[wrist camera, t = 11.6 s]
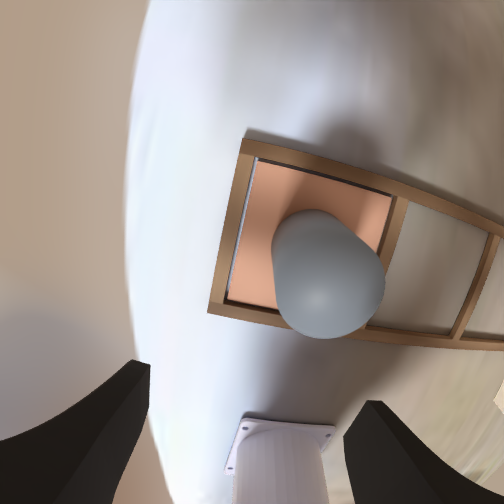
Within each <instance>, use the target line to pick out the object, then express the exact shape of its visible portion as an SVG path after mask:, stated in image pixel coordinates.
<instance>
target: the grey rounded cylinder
mask: <svg viewBox="0 0 504 504" xmlns="http://www.w3.org/2000/svg"><path fill="white" fill-rule="evenodd" d="M271 256H272V265H273V275H274V285H275V295H276V302H277V307H278V309H279V312H280V314H281V315H282V317H283V319H284V320H285V321H286V323H287V324H288V325H289V326H290V327H291V328H293V329H294V330H296V331H297V332H299V333H301V334H303V335H306V336H308V337H312V338H319V339H330V338H337V337H341V336H344V335H347V334H349V333H351V332H353V331H355V330H357V329H358V328H360V327H361V326H362V325H364V324H365V323H366V322H367V321H368V320H369V319H370V318H371V317H372V316H373V314H374V313H375V312H376V310H377V308H378V307H379V305H380V303H381V300H382V298H383V295H384V290H385V273H384V268H383V265H382V263H381V261H380V259H379V257H378V255H377V254H376V253H375V251H374V250H373V249H372V248H371V247H370V246H368V245H367V244H366V243H365V242H364V241H363V240H362V239H360V238H359V237H358V236H357V235H356V234H355V233H354V232H352V231H351V230H350V229H349V228H348V227H347V226H345V225H344V224H343V223H342V222H341V221H340V220H338V219H337V218H336V217H335V216H333V215H332V214H330V213H328V212H326V211H323V210H318V209H305V210H301V211H298V212H295V213H293V214H291V215H290V216H288V217H287V218H286V219H284V220H283V221H282V222H281V224H280V225H279V226H278V228H277V229H276V231H275V233H274V235H273V238H272V243H271Z"/></svg>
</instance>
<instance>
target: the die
mask: <svg viewBox="0 0 504 504" xmlns="http://www.w3.org/2000/svg"><path fill="white" fill-rule="evenodd" d="M493 401H494V402H495V403H496V404H497V406H498V407H499V408H500V410H501V411H502V412H503V414H504V380H503V383H502V385H501V387H500V389H499V391H498V392H497V394H496V396H495V398H494V400H493Z"/></svg>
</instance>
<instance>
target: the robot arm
mask: <svg viewBox="0 0 504 504" xmlns="http://www.w3.org/2000/svg"><path fill="white" fill-rule="evenodd" d="M149 389H150V365H149V364H146V363H142V362H139V361H136V360H130V361H129V362H127V363H126V364H125V365H124V366H123V367H122V368H121V369H120V370H118V371H117V372H116V373H115V374H114V375H113V376H112V377H111V378H109V379H108V380H107V381H106V382H104V383H103V384H102V385H100V386H99V387H98V388H97V389H95V390H94V391H93V392H91V393H90V394H89V395H87V396H86V397H85V398H83V399H82V400H80V401H79V402H77V403H76V404H75V405H73V406H71V407H70V408H68V409H67V410H65V411H64V412H62V413H61V414H59V415H57V416H55V417H54V418H52V419H50V420H48V421H47V422H45V423H43V424H41V425H39V426H37V427H35V428H32V429H30V430H28V431H25V432H23V433H21V434H18V435H16V436H14V437H11V438H8V439H5V440H1V441H0V504H112V502H113V498H114V494H115V491H116V489H117V486H118V484H119V481H120V479H121V476H122V474H123V471H124V470H125V467H126V465H127V463H128V461H129V458H130V456H131V454H132V452H133V449H134V447H135V445H136V443H137V440H138V438H139V436H140V433H141V431H142V428H143V425H144V422H145V418H146V415H147V412H148V409H149ZM335 432H336V428H335V427H334V426H328V425H310V424H296V423H285V422H276V421H267V420H259V419H252V418H243V419H242V420H241V421H240V424H239V427H238V430H237V433H236V436H235V439H234V442H233V445H232V448H231V451H230V453H229V456H228V459H227V462H226V465H225V468H224V473H225V474H227V475H234V479H233V494H232V504H329V498H328V492H327V486H326V480H325V475H324V469H323V464H322V458H321V453H322V451H323V450H324V448H325V447H326V446H327V444H328V443H329V441H330V440H331V438H332V437H333V435H334V434H335ZM343 440H344V453H345V461H346V466H347V470H348V475H349V479H350V483H351V488H352V492H353V496H354V501H355V504H504V496H501V495H499V494H496V493H494V492H492V491H490V490H487V489H485V488H483V487H481V486H479V485H478V484H476V483H474V482H472V481H471V480H469V479H467V478H466V477H464V476H463V475H461V474H460V473H458V472H457V471H456V470H454V469H453V468H452V467H450V466H449V465H448V464H446V463H445V462H444V461H443V460H441V459H440V458H439V457H438V456H437V455H436V454H435V453H434V452H432V451H431V450H430V449H429V448H428V447H427V446H426V445H425V444H424V443H423V442H422V441H421V440H420V439H419V438H418V437H417V436H416V435H415V434H414V433H413V432H412V431H411V430H410V429H409V428H408V427H407V426H406V425H405V424H404V423H403V422H402V421H401V420H400V419H399V417H398V416H397V415H396V414H395V413H394V412H393V411H392V410H391V409H390V408H389V407H388V406H387V405H386V404H385V403H383V402H382V401H374V400H367V401H366V403H365V404H364V406H363V407H362V409H361V411H360V412H359V414H358V415H357V417H356V418H355V420H354V421H353V423H352V424H351V426H350V427H349V429H348V430H347V432H346V433H345V434H344V436H343Z"/></svg>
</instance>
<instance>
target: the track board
mask: <svg viewBox="0 0 504 504" xmlns="http://www.w3.org/2000/svg"><path fill="white" fill-rule="evenodd" d="M254 157H259V158H263V159H268V160H272V161H276V162H281V163H285V164H289V165H293V166H297V167H301V168H305V169H309V170H312V171H316V172H320V173H324V174H327V175H331V176H334V177H338V178H341V179H345V180H348V181H351V182H355V183H358V184H361V185H365V186H368V187H371V188H374V189H377V190H380V191H383V192H386V193H389V194H392V195H393V199H392V198H391V197H388V196H384V195H381V194H378V193H375V192H372V191H369V190H366V189H362V188H359V187H356V186H352V185H349V184H346V183H342V182H339V181H335V180H332V179H328V178H324V177H321V176H317V175H313V174H309V173H306V172H302V171H298V170H294V169H290V168H286V167H282V166H277V165H273V164H269V163H264V162H260V161H257V165H256V170H255V174H254V178H253V183H252V187H251V192H250V196H249V201H248V205H247V210H246V214H245V219H244V223H243V228H242V232H241V237H240V242H239V246H238V251H237V255H236V260H235V265H234V269H233V274H232V279H231V283H230V288H229V293H228V298H227V299H228V300H224V295H225V291H226V286H227V281H228V276H229V271H230V267H231V262H232V257H233V252H234V248H235V243H236V238H237V234H238V229H239V224H240V220H241V215H242V211H243V206H244V201H245V197H246V192H247V188H248V183H249V179H250V174H251V170H252V166H253V161H254ZM391 200H392V202H391ZM409 200H410V201H412V202H415V203H418V204H421V205H423V206H426V207H429V208H431V209H434V210H437V211H439V212H442V213H444V214H447V215H450V216H452V217H455V218H457V219H459V220H462V221H464V222H467V223H469V224H471V225H474V226H476V227H478V228H481V229H483V230H485V231H487V232H490V233H489V236H488V240H487V243H486V246H485V249H484V252H483V255H482V258H481V261H480V264H479V267H478V269H477V272H476V275H475V277H474V280H473V283H472V285H471V288H470V290H469V293H468V295H467V297H466V300H465V302H464V304H463V307H462V309H461V311H460V313H459V316H458V318H457V320H456V322H455V324H454V326H453V328H452V330H451V332H450V334H449V336H447V335H437V334H428V333H420V332H412V331H404V330H396V329H389V328H382V327H375V326H368V325H366V324H367V322H368V321H367V322H366V323H365V324H364V325H362V326H361V327H360V328H358V329H357V330H355V331H353V332H351V333H349V334H347V335H344V336H341V337H344V338H351V339H359V340H367V341H375V342H383V343H392V344H402V345H412V346H423V347H435V348H448V349H465V350H486V351H504V340H490V339H478V338H467V337H461V335H462V333H463V331H464V329H465V327H466V325H467V323H468V321H469V319H470V317H471V315H472V312H473V310H474V308H475V306H476V303H477V301H478V299H479V296H480V294H481V291H482V289H483V286H484V284H485V281H486V279H487V276H488V273H489V271H490V268H491V265H492V262H493V259H494V256H495V253H496V250H497V247H498V244H499V241H500V237H501V238H503V239H504V227H503V226H501V225H499V224H497V223H495V222H493V221H491V220H489V219H487V218H485V217H483V216H480V215H478V214H476V213H474V212H472V211H470V210H467V209H465V208H463V207H461V206H458V205H456V204H454V203H451V202H449V201H447V200H444V199H442V198H440V197H437V196H435V195H432V194H430V193H427V192H425V191H422V190H419V189H417V188H414V187H412V186H409V185H406V184H403V183H401V182H398V181H395V180H392V179H390V178H387V177H384V176H381V175H378V174H375V173H372V172H369V171H366V170H363V169H360V168H356V167H353V166H350V165H347V164H343V163H340V162H337V161H333V160H330V159H326V158H323V157H319V156H316V155H312V154H308V153H304V152H301V151H297V150H293V149H289V148H285V147H280V146H276V145H272V144H268V143H263V142H259V141H254V140H249V139H244V138H242V142H241V147H240V151H239V155H238V160H237V164H236V169H235V174H234V178H233V183H232V188H231V192H230V197H229V202H228V206H227V211H226V216H225V221H224V226H223V231H222V236H221V241H220V246H219V251H218V256H217V261H216V267H215V272H214V277H213V283H212V288H211V293H210V299H209V304H208V310H207V313H210V314H215V315H220V316H224V317H229V318H234V319H239V320H244V321H249V322H254V323H259V324H264V325H270V326H275V327H281V328H287V329H292V330H294V329H293V328H291V327H290V326H289V325H288V324H287V323H286V321H285V320H284V319H283V317H282V315H281V314H280V312H279V309H278V307H277V302H276V295H275V285H274V275H273V265H272V256H271V243H272V238H273V235H274V233H275V231H276V229H277V228H278V226H279V225H280V224H281V222H282V221H283V220H284V219H286V218H287V217H288V216H290V215H291V214H293V213H295V212H298V211H301V210H305V209H318V210H323V211H326V212H328V213H330V214H332V215H333V216H335V217H336V218H337V219H338V220H340V221H341V222H342V223H343V224H344V225H345V226H347V227H348V228H349V229H350V230H351V231H352V232H354V233H355V234H356V235H357V236H358V237H359V238H360V239H362V240H363V241H364V242H365V243H366V244H367V245H368V246H370V247H371V248H372V249H373V250H374V251H375V253H376V250H377V247H378V244H379V247H378V250H377V253H376V254H377V255H378V257H379V259H380V261H381V263H382V265H383V268H384V273H385V276H386V273H387V270H388V267H389V264H390V262H391V259H392V256H393V253H394V250H395V247H396V243H397V240H398V237H399V234H400V231H401V227H402V224H403V221H404V217H405V214H406V210H407V206H408V203H409ZM390 203H391V206H390ZM389 207H390V210H389ZM388 211H389V213H388ZM387 214H388V217H387ZM386 218H387V220H386ZM385 221H386V224H385ZM384 224H385V227H384ZM383 228H384V230H383ZM382 231H383V234H382ZM381 234H382V237H381ZM380 238H381V240H380ZM379 241H380V243H379ZM229 300H232V301H229ZM234 301H237V302H234ZM238 302H242V303H238ZM243 303H247V304H243ZM248 304H252V305H248ZM253 305H257V306H253ZM258 306H262V307H258ZM263 307H267V308H263ZM268 308H272V309H268ZM273 309H277V310H273Z"/></svg>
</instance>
